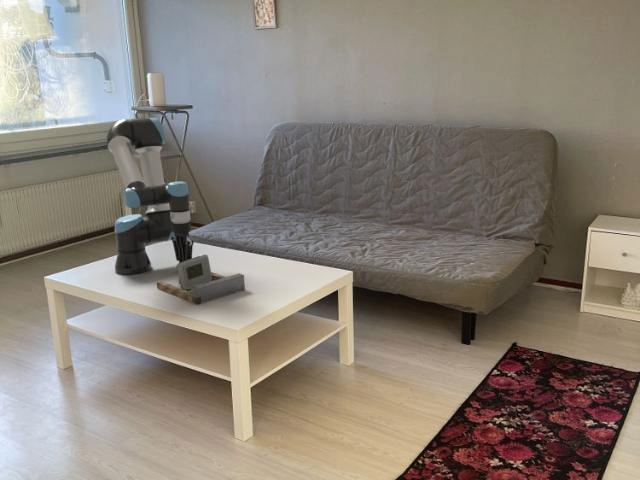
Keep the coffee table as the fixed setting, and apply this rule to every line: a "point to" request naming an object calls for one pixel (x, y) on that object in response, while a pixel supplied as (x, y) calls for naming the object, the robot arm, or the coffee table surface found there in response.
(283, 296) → the coffee table surface
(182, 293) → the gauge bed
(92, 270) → the coffee table surface
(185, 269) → the digital clock
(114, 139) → the robot arm
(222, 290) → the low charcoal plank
